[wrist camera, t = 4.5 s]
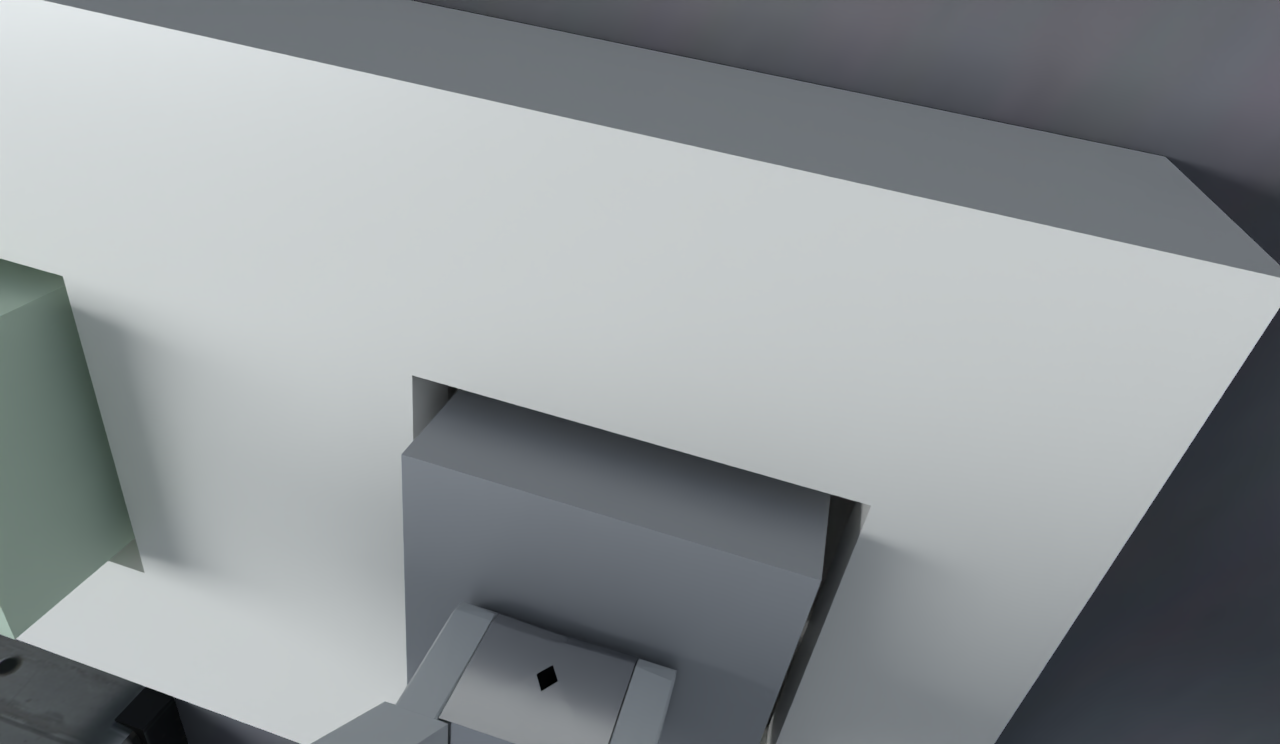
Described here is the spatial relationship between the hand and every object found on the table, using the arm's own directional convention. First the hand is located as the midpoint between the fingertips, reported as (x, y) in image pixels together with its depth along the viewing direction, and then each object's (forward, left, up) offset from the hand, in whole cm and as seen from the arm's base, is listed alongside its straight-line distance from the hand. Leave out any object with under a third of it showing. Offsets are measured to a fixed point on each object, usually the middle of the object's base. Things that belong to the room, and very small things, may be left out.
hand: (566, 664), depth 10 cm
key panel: (+5, 0, -5) cm, 7 cm away
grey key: (0, 0, -3) cm, 3 cm away
